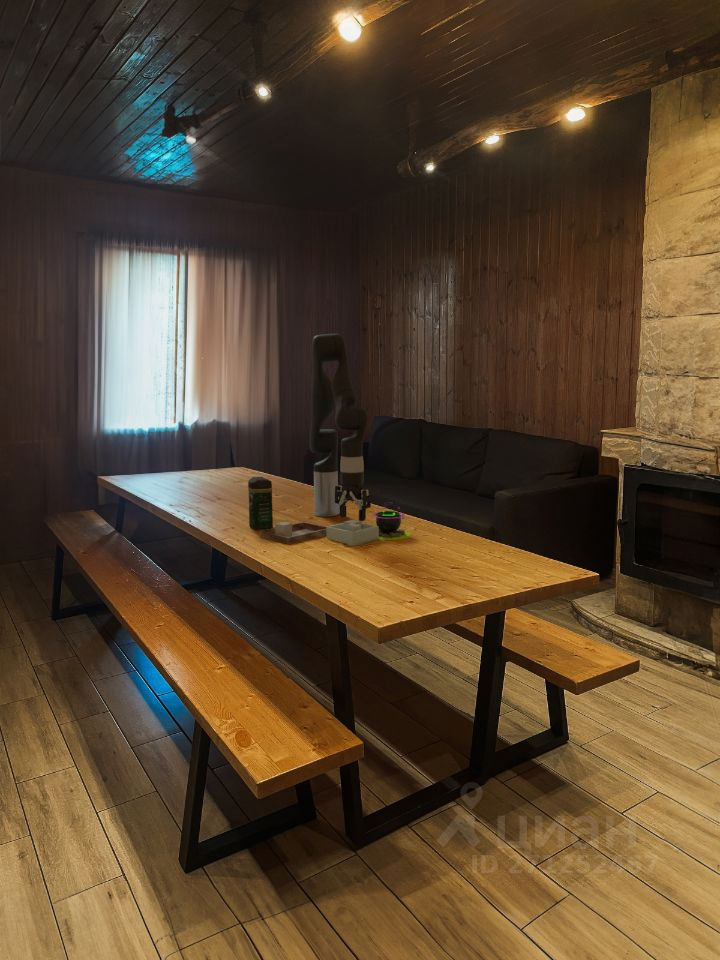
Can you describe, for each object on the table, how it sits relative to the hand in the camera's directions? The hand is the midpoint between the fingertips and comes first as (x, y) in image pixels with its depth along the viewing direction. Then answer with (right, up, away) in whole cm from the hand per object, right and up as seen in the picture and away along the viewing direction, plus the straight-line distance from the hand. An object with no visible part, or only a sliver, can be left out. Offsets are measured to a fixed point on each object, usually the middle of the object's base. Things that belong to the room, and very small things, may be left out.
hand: (352, 518), depth 231 cm
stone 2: (0, -6, +7) cm, 9 cm away
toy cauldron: (+12, -6, +11) cm, 18 cm away
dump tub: (0, -7, +4) cm, 8 cm away
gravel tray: (-19, -7, +9) cm, 22 cm away
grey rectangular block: (0, -7, +1) cm, 7 cm away
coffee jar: (-33, -5, +22) cm, 40 cm away
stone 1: (-23, -7, +5) cm, 24 cm away
